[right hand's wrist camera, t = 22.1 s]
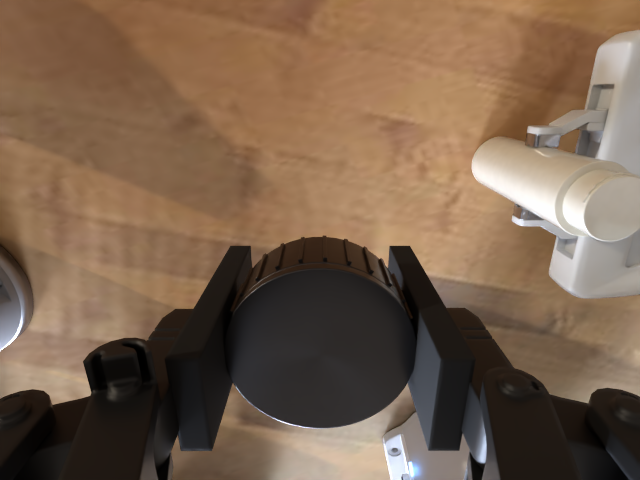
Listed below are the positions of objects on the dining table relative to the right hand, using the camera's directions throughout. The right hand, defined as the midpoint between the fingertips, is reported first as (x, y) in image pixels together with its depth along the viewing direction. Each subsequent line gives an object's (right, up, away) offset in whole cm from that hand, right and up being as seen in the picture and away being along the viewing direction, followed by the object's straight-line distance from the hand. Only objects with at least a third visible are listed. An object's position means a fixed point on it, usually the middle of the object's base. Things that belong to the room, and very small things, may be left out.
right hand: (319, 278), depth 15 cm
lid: (0, -2, -4) cm, 4 cm away
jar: (+17, +9, +21) cm, 29 cm away
